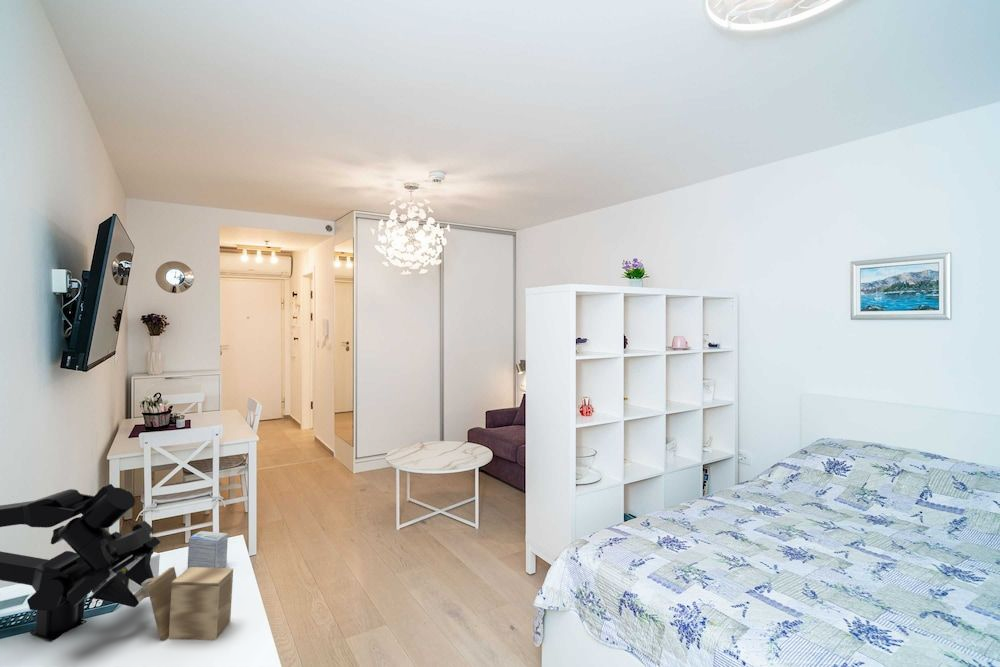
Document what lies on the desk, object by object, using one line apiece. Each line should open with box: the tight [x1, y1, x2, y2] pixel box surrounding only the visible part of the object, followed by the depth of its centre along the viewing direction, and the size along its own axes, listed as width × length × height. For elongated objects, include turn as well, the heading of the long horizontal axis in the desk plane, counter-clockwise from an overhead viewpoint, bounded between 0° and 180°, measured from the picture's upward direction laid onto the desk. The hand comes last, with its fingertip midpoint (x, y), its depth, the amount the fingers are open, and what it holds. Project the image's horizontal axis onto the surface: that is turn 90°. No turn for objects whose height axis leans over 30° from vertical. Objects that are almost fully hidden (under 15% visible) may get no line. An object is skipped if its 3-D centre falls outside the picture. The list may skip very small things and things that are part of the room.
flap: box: [133, 566, 178, 641], centre depth 99 cm, size 5×7×11 cm
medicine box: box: [186, 530, 229, 570], centre depth 125 cm, size 8×4×9 cm, turn 84°
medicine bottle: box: [115, 534, 161, 593], centre depth 115 cm, size 7×7×12 cm
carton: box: [168, 567, 234, 641], centre depth 99 cm, size 9×6×12 cm, turn 93°
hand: (146, 597), depth 99 cm, fingers closed on flap, 5 cm apart
